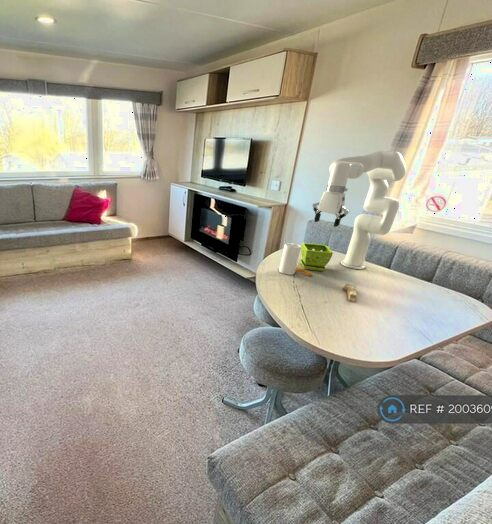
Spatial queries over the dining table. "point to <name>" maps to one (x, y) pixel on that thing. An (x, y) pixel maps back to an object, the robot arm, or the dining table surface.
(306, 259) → the flower pot
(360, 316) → the dining table surface
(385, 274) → the dining table surface
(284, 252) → the cup
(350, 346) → the dining table surface
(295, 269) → the breadstick
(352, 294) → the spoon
